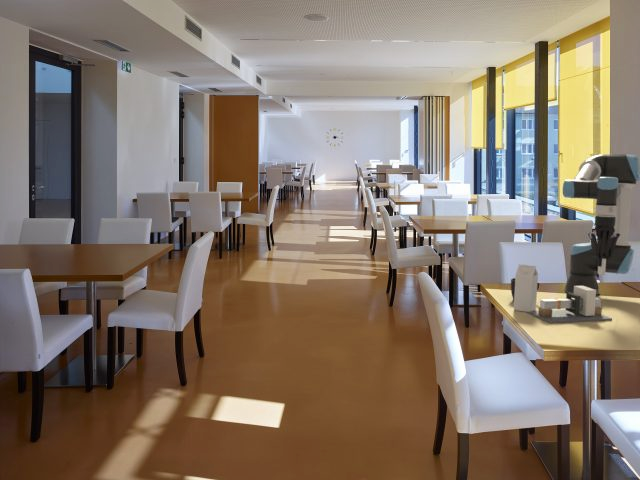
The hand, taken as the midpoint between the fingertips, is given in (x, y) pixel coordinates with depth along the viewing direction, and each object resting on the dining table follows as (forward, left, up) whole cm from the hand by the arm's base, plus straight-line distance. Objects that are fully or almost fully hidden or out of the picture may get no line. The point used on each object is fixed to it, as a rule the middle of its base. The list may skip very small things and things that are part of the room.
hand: (601, 274), depth 276 cm
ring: (+12, 0, -15) cm, 19 cm away
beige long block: (+13, 0, -17) cm, 21 cm away
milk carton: (+25, -14, -17) cm, 33 cm away
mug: (+17, -29, -17) cm, 38 cm away
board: (+13, 0, -17) cm, 21 cm away
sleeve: (+7, 0, -16) cm, 17 cm away
